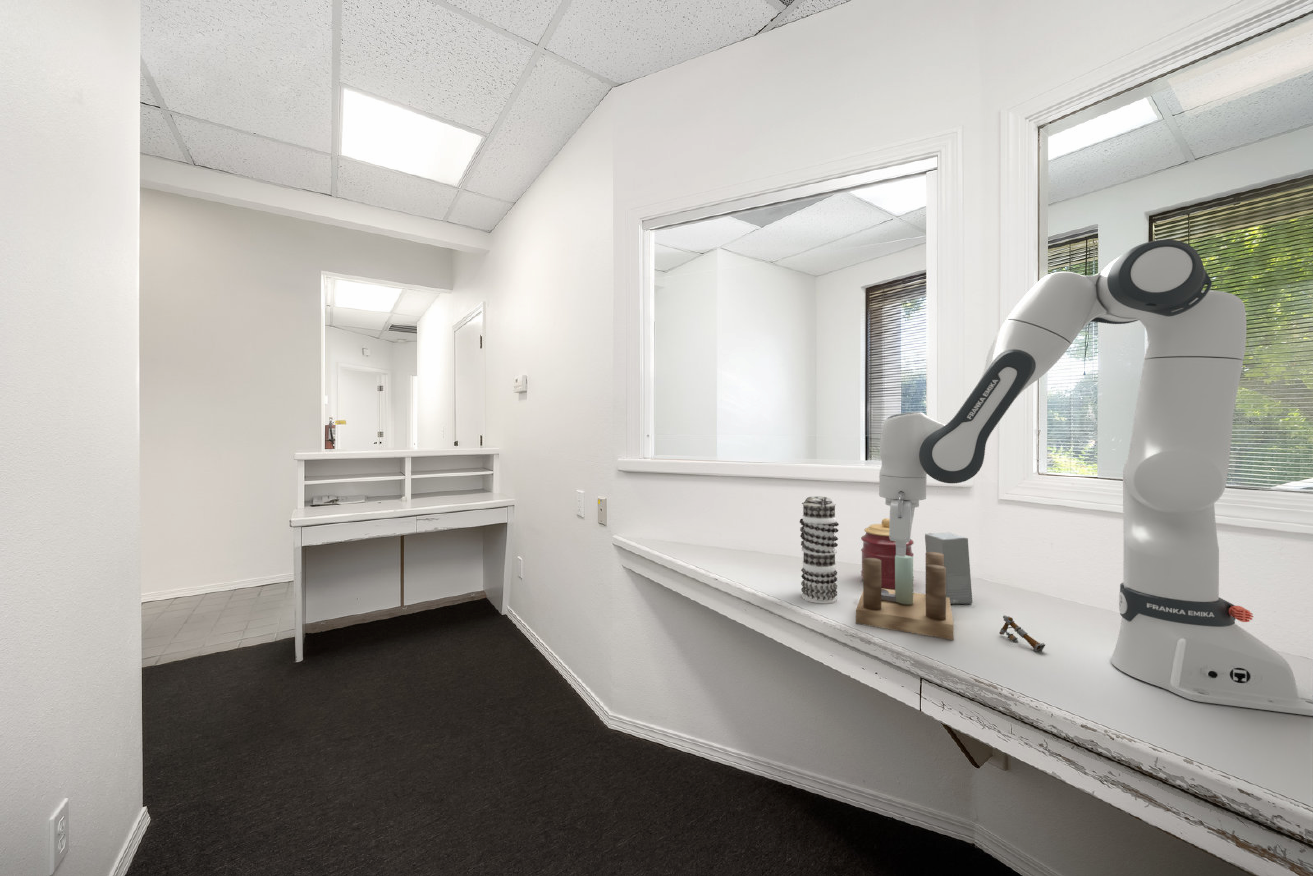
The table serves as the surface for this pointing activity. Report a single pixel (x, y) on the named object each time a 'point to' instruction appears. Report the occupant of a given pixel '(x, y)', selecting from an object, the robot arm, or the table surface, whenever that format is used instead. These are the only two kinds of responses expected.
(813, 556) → the decorative candle
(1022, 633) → the wooden post with brackets
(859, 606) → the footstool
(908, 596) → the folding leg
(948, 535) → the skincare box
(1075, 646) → the table surface
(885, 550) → the canister
